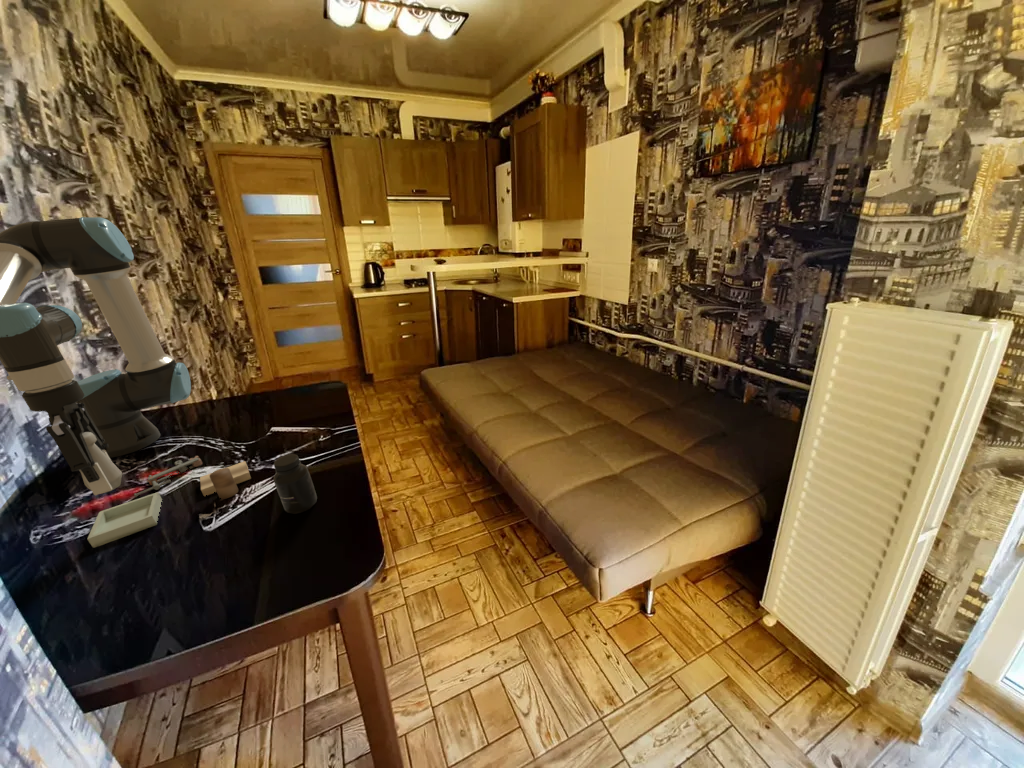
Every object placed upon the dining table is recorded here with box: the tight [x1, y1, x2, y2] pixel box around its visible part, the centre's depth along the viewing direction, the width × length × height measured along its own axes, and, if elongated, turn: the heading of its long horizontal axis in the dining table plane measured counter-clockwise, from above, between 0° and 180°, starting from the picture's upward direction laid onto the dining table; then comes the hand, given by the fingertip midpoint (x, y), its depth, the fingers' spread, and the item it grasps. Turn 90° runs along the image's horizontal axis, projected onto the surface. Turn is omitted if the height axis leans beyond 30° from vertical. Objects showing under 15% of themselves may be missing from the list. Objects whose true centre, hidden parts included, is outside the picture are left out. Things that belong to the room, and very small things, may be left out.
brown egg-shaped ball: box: [209, 467, 239, 500], centre depth 96 cm, size 4×4×6 cm
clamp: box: [133, 455, 203, 498], centre depth 107 cm, size 15×2×10 cm
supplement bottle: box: [273, 453, 318, 515], centre depth 89 cm, size 7×7×12 cm
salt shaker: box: [81, 432, 123, 495], centre depth 84 cm, size 6×6×13 cm
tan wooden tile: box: [199, 460, 252, 497], centre depth 102 cm, size 7×10×2 cm
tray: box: [87, 491, 163, 549], centre depth 90 cm, size 11×11×2 cm
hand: (107, 484), depth 86 cm, fingers closed on salt shaker, 6 cm apart
